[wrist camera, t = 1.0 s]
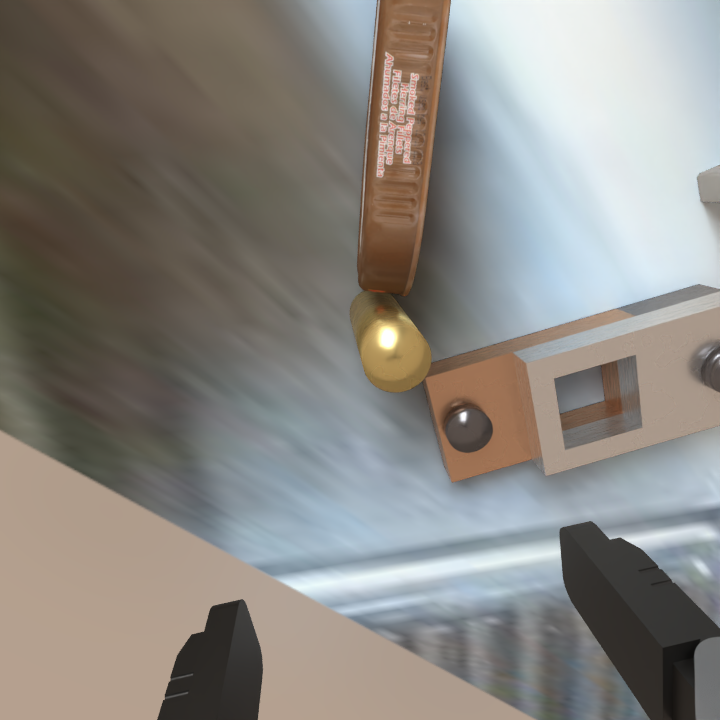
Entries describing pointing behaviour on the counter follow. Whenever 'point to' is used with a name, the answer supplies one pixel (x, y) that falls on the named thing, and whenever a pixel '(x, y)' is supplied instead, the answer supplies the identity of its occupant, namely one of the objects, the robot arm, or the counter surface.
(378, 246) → the tin
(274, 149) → the counter surface
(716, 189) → the lighter
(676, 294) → the door latch
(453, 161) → the counter surface
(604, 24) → the counter surface
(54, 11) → the counter surface
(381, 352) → the pin
